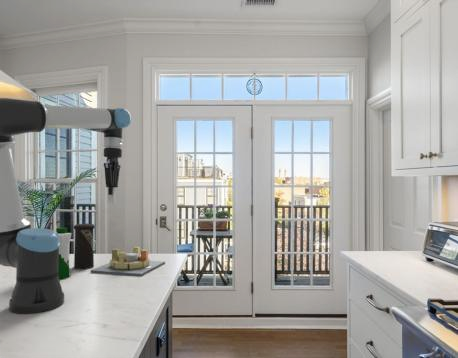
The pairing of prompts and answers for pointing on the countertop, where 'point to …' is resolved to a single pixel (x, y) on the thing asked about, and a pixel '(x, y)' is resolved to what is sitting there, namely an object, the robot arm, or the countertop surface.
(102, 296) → the countertop surface
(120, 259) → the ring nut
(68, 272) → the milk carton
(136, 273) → the slate plate
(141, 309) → the countertop surface
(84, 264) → the container
